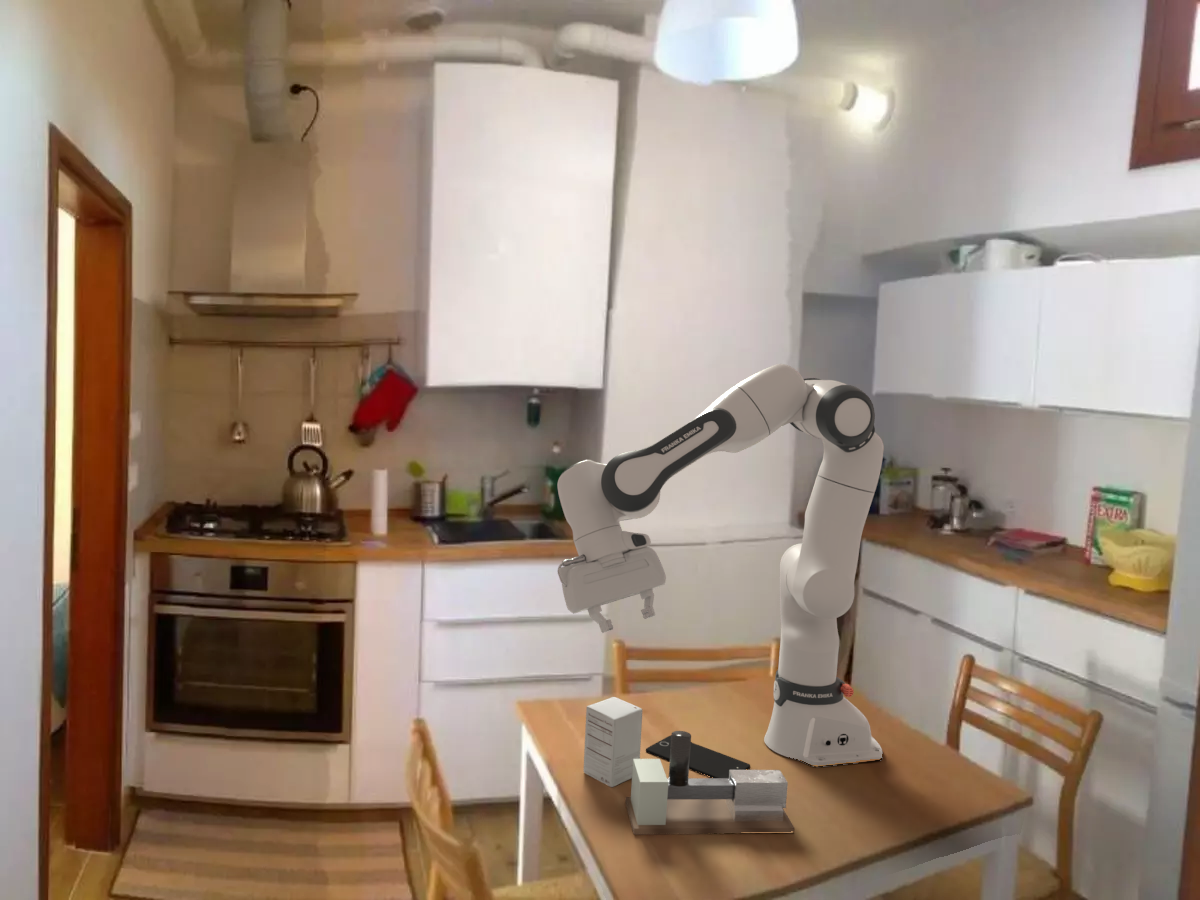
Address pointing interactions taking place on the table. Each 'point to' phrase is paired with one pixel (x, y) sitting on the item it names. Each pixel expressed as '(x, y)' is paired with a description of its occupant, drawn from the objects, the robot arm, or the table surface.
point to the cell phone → (701, 759)
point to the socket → (649, 792)
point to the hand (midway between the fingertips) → (629, 624)
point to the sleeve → (758, 795)
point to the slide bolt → (692, 787)
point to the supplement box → (612, 740)
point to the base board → (704, 819)
